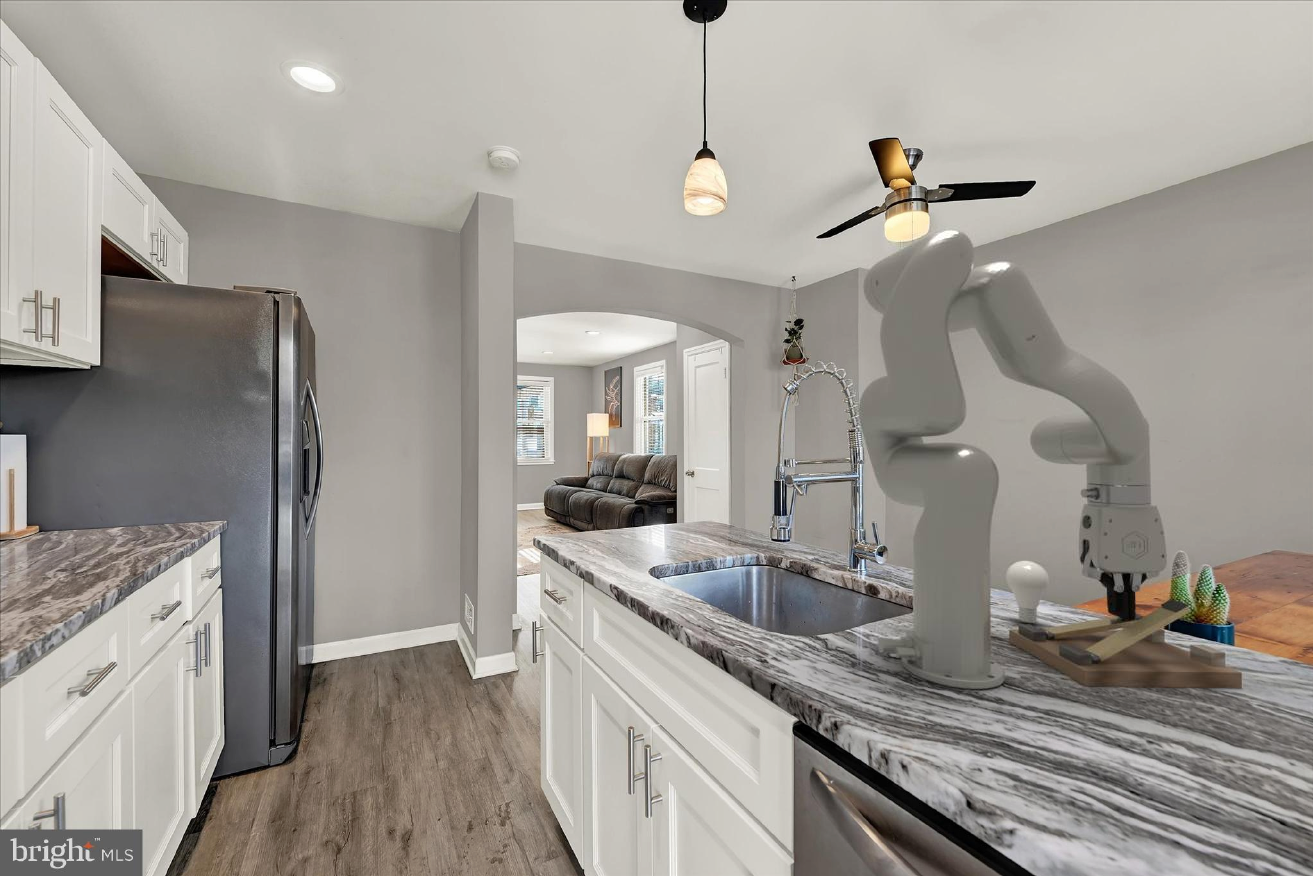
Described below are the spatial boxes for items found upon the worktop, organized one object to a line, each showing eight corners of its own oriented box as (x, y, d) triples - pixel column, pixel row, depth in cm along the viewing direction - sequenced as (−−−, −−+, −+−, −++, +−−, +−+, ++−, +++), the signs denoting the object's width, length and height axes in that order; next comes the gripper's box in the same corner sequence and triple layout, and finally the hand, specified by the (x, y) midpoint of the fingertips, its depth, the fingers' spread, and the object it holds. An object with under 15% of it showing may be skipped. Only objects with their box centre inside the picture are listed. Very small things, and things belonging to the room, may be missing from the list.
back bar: (1048, 640, 83) (1047, 633, 83) (1037, 634, 86) (1036, 627, 86) (1146, 624, 83) (1144, 616, 83) (1132, 619, 85) (1131, 612, 85)
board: (1085, 686, 72) (1084, 656, 72) (1009, 642, 88) (1009, 618, 88) (1241, 688, 71) (1241, 658, 72) (1137, 643, 87) (1136, 619, 88)
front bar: (1095, 665, 74) (1090, 658, 74) (1081, 658, 77) (1077, 651, 77) (1191, 611, 74) (1187, 604, 74) (1174, 606, 76) (1170, 599, 76)
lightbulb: (1058, 629, 94) (1058, 565, 94) (1021, 629, 94) (1020, 564, 94) (1033, 618, 100) (1033, 557, 100) (998, 617, 100) (998, 557, 101)
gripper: (1086, 499, 81) (1090, 624, 81) (1191, 497, 81) (1194, 623, 80) (1051, 494, 88) (1054, 609, 88) (1146, 492, 88) (1150, 607, 88)
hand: (1121, 615), depth 84 cm, fingers closed
